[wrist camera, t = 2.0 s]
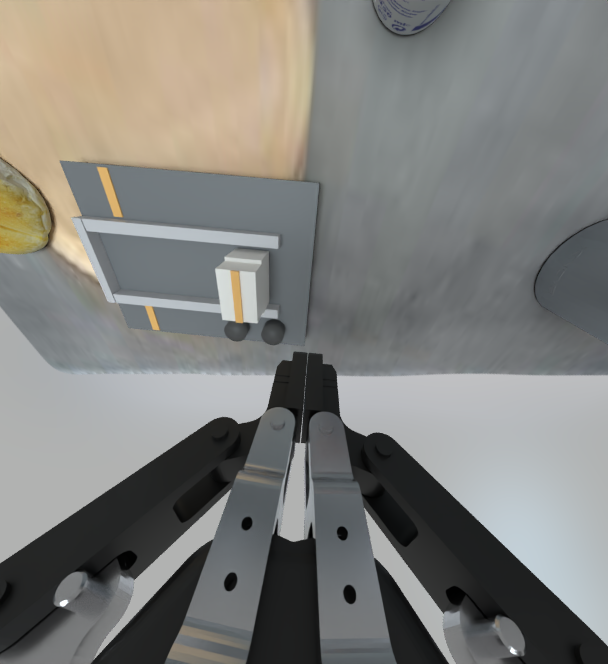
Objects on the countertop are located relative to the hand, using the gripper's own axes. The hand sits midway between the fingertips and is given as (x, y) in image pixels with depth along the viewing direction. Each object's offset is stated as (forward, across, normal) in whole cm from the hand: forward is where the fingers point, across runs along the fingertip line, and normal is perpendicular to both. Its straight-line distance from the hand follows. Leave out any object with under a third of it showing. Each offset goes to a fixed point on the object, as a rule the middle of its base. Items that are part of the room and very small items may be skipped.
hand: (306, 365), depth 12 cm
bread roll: (+15, +31, -4) cm, 34 cm away
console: (+14, +11, 0) cm, 18 cm away
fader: (+12, +6, 0) cm, 13 cm away
